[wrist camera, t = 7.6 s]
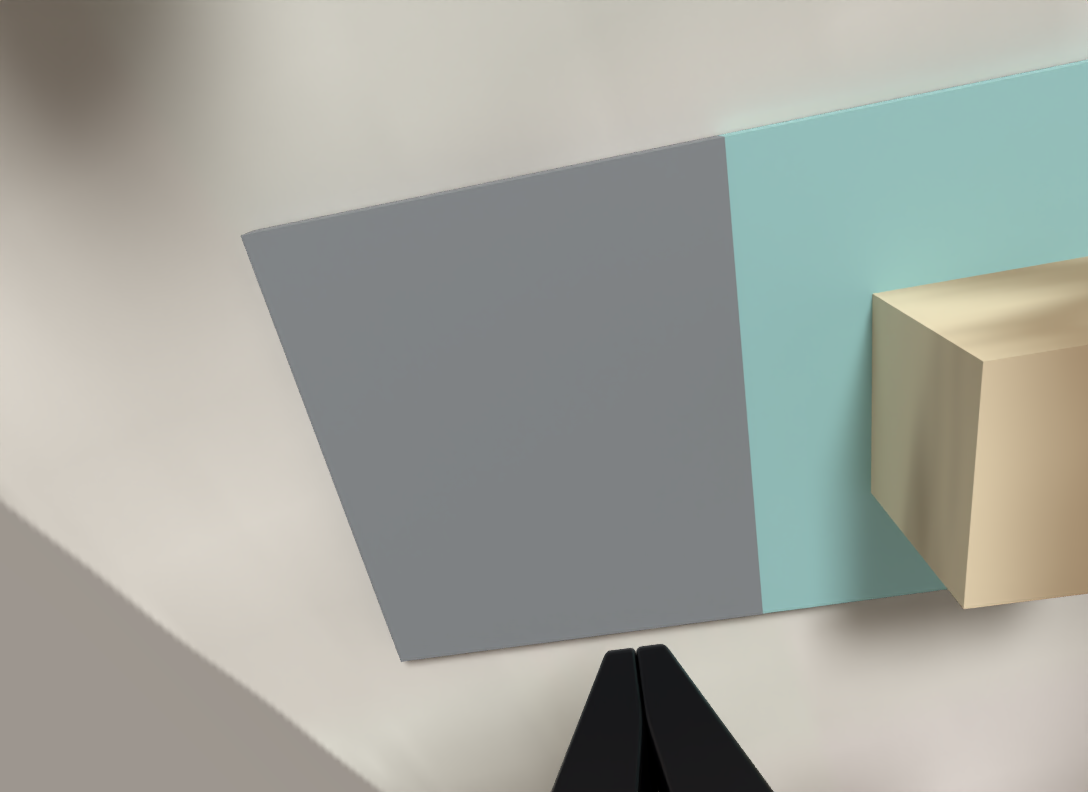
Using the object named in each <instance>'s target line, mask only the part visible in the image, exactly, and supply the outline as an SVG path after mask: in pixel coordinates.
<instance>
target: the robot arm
mask: <svg viewBox="0 0 1088 792" xmlns="http://www.w3.org/2000/svg"><path fill="white" fill-rule="evenodd" d="M636 654H637V655H636ZM551 792H774V791H773V790H772V789H771V787H770V786H769V785H768V783H767V782H766V781H765V779H764V778H763V776H762V775H761V774H760V772H759V771H758V770H757V768H756V767H755V766H754V764H753V763H752V762H751V760H750V759H749V757H748V756H747V755H746V753H745V752H744V751H743V749H742V748H741V747H740V745H739V744H738V742H737V741H736V740H735V738H734V737H733V736H732V734H731V733H730V732H729V730H728V729H727V728H726V726H725V725H724V723H723V722H722V721H721V719H720V718H719V717H718V715H717V714H716V713H715V711H714V710H713V708H712V707H711V706H710V704H709V703H708V702H707V700H706V699H705V698H704V696H703V695H702V693H701V692H700V691H699V689H698V688H697V687H696V685H695V684H694V683H693V681H692V680H691V679H690V677H689V676H688V674H687V673H686V672H685V670H684V669H683V668H682V666H681V665H680V664H679V662H678V661H677V659H676V658H675V657H674V655H673V654H672V653H671V651H670V650H669V649H668V647H666V646H665V645H663V644H657V645H649V646H642V647H639V648H638V649H637V651H635V650H634V649H632V648H626V649H619V650H611V651H608V652H607V653H606V654H605V656H604V658H603V660H602V663H601V666H600V668H599V671H598V673H597V676H596V678H595V681H594V683H593V686H592V689H591V691H590V694H589V696H588V699H587V701H586V704H585V706H584V709H583V712H582V714H581V717H580V719H579V722H578V724H577V727H576V729H575V732H574V734H573V737H572V740H571V742H570V745H569V747H568V750H567V752H566V755H565V757H564V760H563V763H562V765H561V768H560V770H559V773H558V775H557V778H556V780H555V783H554V786H553V788H552V791H551Z"/></svg>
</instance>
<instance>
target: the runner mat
mask: <svg viewBox="0 0 1088 792" xmlns="http://www.w3.org/2000/svg"><path fill="white" fill-rule="evenodd" d="M241 238H242V241H243V243H244V246H245V249H246V251H247V254H248V257H249V259H250V262H251V264H252V267H253V270H254V272H255V275H256V278H257V280H258V283H259V286H260V288H261V291H262V294H263V296H264V299H265V302H266V304H267V307H268V310H269V312H270V315H271V318H272V320H273V323H274V326H275V328H276V331H277V334H278V336H279V339H280V342H281V344H282V347H283V349H284V352H285V355H286V357H287V360H288V363H289V365H290V368H291V371H292V373H293V376H294V379H295V381H296V384H297V387H298V389H299V392H300V395H301V397H302V400H303V403H304V405H305V408H306V411H307V413H308V416H309V419H310V421H311V424H312V426H313V429H314V432H315V434H316V437H317V440H318V442H319V445H320V448H321V450H322V453H323V456H324V458H325V461H326V464H327V466H328V469H329V472H330V474H331V477H332V480H333V482H334V485H335V488H336V490H337V493H338V496H339V498H340V501H341V504H342V506H343V509H344V511H345V514H346V517H347V519H348V522H349V525H350V527H351V530H352V533H353V535H354V538H355V541H356V543H357V546H358V549H359V551H360V554H361V557H362V559H363V562H364V565H365V567H366V570H367V573H368V575H369V578H370V581H371V583H372V586H373V589H374V591H375V594H376V596H377V599H378V602H379V604H380V607H381V610H382V612H383V615H384V618H385V620H386V623H387V626H388V628H389V631H390V634H391V636H392V639H393V642H394V644H395V647H396V650H397V652H398V655H399V658H400V660H401V662H402V661H410V660H418V659H425V658H433V657H440V656H448V655H456V654H463V653H471V652H478V651H486V650H494V649H501V648H509V647H516V646H524V645H532V644H539V643H547V642H554V641H562V640H570V639H577V638H585V637H592V636H600V635H608V634H615V633H623V632H630V631H638V630H646V629H653V628H661V627H668V626H676V625H684V624H691V623H699V622H706V621H714V620H722V619H729V618H737V617H745V616H752V615H760V614H763V613H771V612H778V611H786V610H793V609H801V608H809V607H816V606H824V605H831V604H839V603H847V602H854V601H862V600H869V599H877V598H885V597H892V596H900V595H907V594H915V593H923V592H930V591H938V590H945V589H947V588H946V586H945V585H944V584H943V583H942V581H941V580H940V579H939V578H938V576H937V575H936V574H935V573H934V571H933V570H932V569H931V568H930V566H929V565H928V564H927V563H926V561H925V560H924V559H923V558H922V556H921V555H920V554H919V553H918V551H917V550H916V549H915V547H914V546H913V545H912V544H911V542H910V541H909V540H908V539H907V537H906V536H905V535H904V534H903V532H902V531H901V530H900V529H899V527H898V526H897V525H896V524H895V522H894V521H893V520H892V519H891V517H890V516H889V515H888V514H887V512H886V511H885V510H884V509H883V507H882V506H881V505H880V503H879V502H878V501H877V500H876V498H875V497H874V496H873V495H872V493H871V427H872V294H874V293H880V292H885V291H891V290H897V289H903V288H908V287H914V286H920V285H926V284H931V283H937V282H943V281H949V280H954V279H960V278H966V277H972V276H977V275H983V274H989V273H995V272H1001V271H1006V270H1012V269H1018V268H1024V267H1029V266H1035V265H1041V264H1047V263H1052V262H1058V261H1064V260H1070V259H1075V258H1081V257H1087V256H1088V60H1084V61H1079V62H1074V63H1069V64H1065V65H1060V66H1055V67H1050V68H1045V69H1040V70H1035V71H1030V72H1025V73H1021V74H1016V75H1011V76H1006V77H1001V78H996V79H991V80H986V81H982V82H977V83H972V84H967V85H962V86H957V87H952V88H947V89H942V90H938V91H933V92H928V93H923V94H918V95H913V96H908V97H903V98H898V99H894V100H889V101H884V102H879V103H874V104H869V105H864V106H859V107H854V108H850V109H845V110H840V111H835V112H830V113H825V114H820V115H815V116H811V117H806V118H801V119H796V120H791V121H786V122H781V123H776V124H771V125H767V126H762V127H757V128H752V129H747V130H742V131H737V132H732V133H727V134H723V135H718V136H713V137H708V138H703V139H698V140H693V141H688V142H684V143H679V144H674V145H669V146H664V147H659V148H654V149H649V150H644V151H640V152H635V153H630V154H625V155H620V156H615V157H610V158H605V159H600V160H596V161H591V162H586V163H581V164H576V165H571V166H566V167H561V168H556V169H552V170H547V171H542V172H537V173H532V174H527V175H522V176H517V177H513V178H508V179H503V180H498V181H493V182H488V183H483V184H478V185H473V186H469V187H464V188H459V189H454V190H449V191H444V192H439V193H434V194H429V195H425V196H420V197H415V198H410V199H405V200H400V201H395V202H390V203H386V204H381V205H376V206H371V207H366V208H361V209H356V210H351V211H346V212H342V213H337V214H332V215H327V216H322V217H317V218H312V219H307V220H302V221H298V222H293V223H288V224H283V225H278V226H273V227H268V228H263V229H258V230H254V231H251V232H248V233H246V234H244V235H241Z"/></svg>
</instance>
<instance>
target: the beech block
mask: <svg viewBox="0 0 1088 792" xmlns="http://www.w3.org/2000/svg"><path fill="white" fill-rule="evenodd" d="M871 493H872V495H873V496H874V497H875V498H876V500H877V501H878V502H879V503H880V505H881V506H882V507H883V509H884V510H885V511H886V512H887V514H888V515H889V516H890V517H891V519H892V520H893V521H894V522H895V524H896V525H897V526H898V527H899V529H900V530H901V531H902V532H903V534H904V535H905V536H906V537H907V539H908V540H909V541H910V542H911V544H912V545H913V546H914V547H915V549H916V550H917V551H918V553H919V554H920V555H921V556H922V558H923V559H924V560H925V561H926V563H927V564H928V565H929V566H930V568H931V569H932V570H933V571H934V573H935V574H936V575H937V576H938V578H939V579H940V580H941V581H942V583H943V584H944V585H945V586H946V588H947V589H948V590H949V592H950V593H951V594H952V595H953V597H954V598H955V599H956V600H957V602H958V603H959V604H960V605H961V607H962V608H963V609H969V608H977V607H985V606H993V605H1001V604H1009V603H1017V602H1025V601H1033V600H1040V599H1048V598H1056V597H1064V596H1072V595H1080V594H1088V256H1087V257H1081V258H1075V259H1070V260H1064V261H1058V262H1052V263H1047V264H1041V265H1035V266H1029V267H1024V268H1018V269H1012V270H1006V271H1001V272H995V273H989V274H983V275H977V276H972V277H966V278H960V279H954V280H949V281H943V282H937V283H931V284H926V285H920V286H914V287H908V288H903V289H897V290H891V291H885V292H880V293H874V294H872V427H871Z"/></svg>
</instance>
